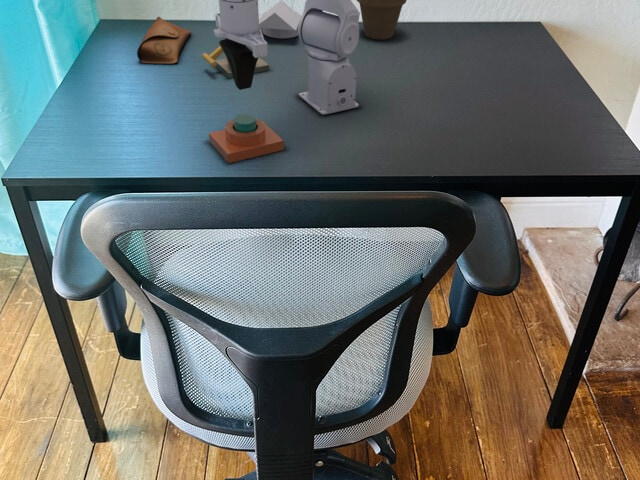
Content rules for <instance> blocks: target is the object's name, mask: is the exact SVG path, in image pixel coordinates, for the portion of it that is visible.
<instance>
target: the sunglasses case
mask: <svg viewBox="0 0 640 480" xmlns="http://www.w3.org/2000/svg"><path fill="white" fill-rule="evenodd" d="M191 34H192V31H190V30H188V29H185V28H183V27H180V26H179V25H175V24H173V23H171V22H169V21H166V20H164V19H163V18H162V17H160V16H157V17H156V19H155V21H154V22H153V23H152V24H151V26H150V27H149V29H148V30H147V32H146V34H145V35H144V37H143V38H142V40H141V42H140V44H139V46H138V49H137V51H136V56H137V58H138V60H139V61H140V62H141V63H142V64H151V65H172V64H176V63H178V62H179V56H180V54H181V52H182V49H183V47H184V46H185V44H186V43H187V41H188V39H189V38H190V36H191Z"/></svg>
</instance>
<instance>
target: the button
mask: <svg viewBox="0 0 640 480" xmlns="http://www.w3.org/2000/svg"><path fill="white" fill-rule="evenodd" d="M256 119H257V118H256V116H254V115H252V114H245V113H244V114H238V115H236V116H235V117H234V118H233V120H234V129H235V131H237V132H240V133H249V132H253V131H255V130H256Z"/></svg>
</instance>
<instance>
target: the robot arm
mask: <svg viewBox="0 0 640 480" xmlns="http://www.w3.org/2000/svg"><path fill="white" fill-rule="evenodd" d="M218 7H219V12H217V13H215V14H214V17H215V26H216V28H215V29H213V35H214V36H215V37H216V38H218V39H221V40H219V41H218V44H219V46H221V48H222V49H223V51H224V52H223V54H224V55H225V58H227V59H228V62H229V65H230V68H231V71H232V75H233V77H232V79H233V81H234V85H235V87H236V88H237V90H239V91H241V90H245V89H250V88H252V85H253V79H254V74H255V73H254V70H255V66H256V63H257V61H258V58H259V57H260V58H263V57H267V56H269V54H268V52H269V51H268V49H269V48H268V42H267V41H266V40H265V38H264V33H263V32H262V28H261V27H260V26H259V19H260V14H259V0H218ZM301 15H302V17H301V19H300V22H299V26H298V39H299V41H300V43H301V44H302V45H303V46H304V52H306V53H307V91H303V92H300V93H298V97H299V98H300V99H302V100H303V101H305V102H306V103H307V104H308V105H309V106H310V107H312V108H313V109H314V110H316V112H318V113H319V114H320V115H322V116H325V115H330V114H334V113H339V112H342V111H346V110H352V109H355V108H359V106H360V104H359V103H358V101H357V102H356V91H357V79H358V78H357V72H356V69H355V68H354V67H353V65H351V63H350V59H349V56H351V55H352V54H353V52H354V51H355V50H356V48H357V46H358V43H359V40H360V26H359V25H360V23H359V22H360V21H359V20H360V15H361V11H360V10H359V9H358V7H356V5H355V4H354V3H353V1H352V0H306V1H305V2H304V9H303V11H302V14H301ZM223 38H224V39H223ZM225 38H227V39H225Z"/></svg>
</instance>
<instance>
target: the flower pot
mask: <svg viewBox="0 0 640 480" xmlns="http://www.w3.org/2000/svg"><path fill="white" fill-rule="evenodd" d="M356 2H357V3H359V8H360V15H361V21H362V26H363V31H364V34H365V36H366V37H367V38H368V39H373V40H380V41H381V40H382V41H383V40H388V39H391V38H392V37H394V34H395V31H396V28H397V25H398V22H399V20H400V19H399V18H400V16H401V12H402V8H403V6H404V5H405V4H406V3H407V0H356Z"/></svg>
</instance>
